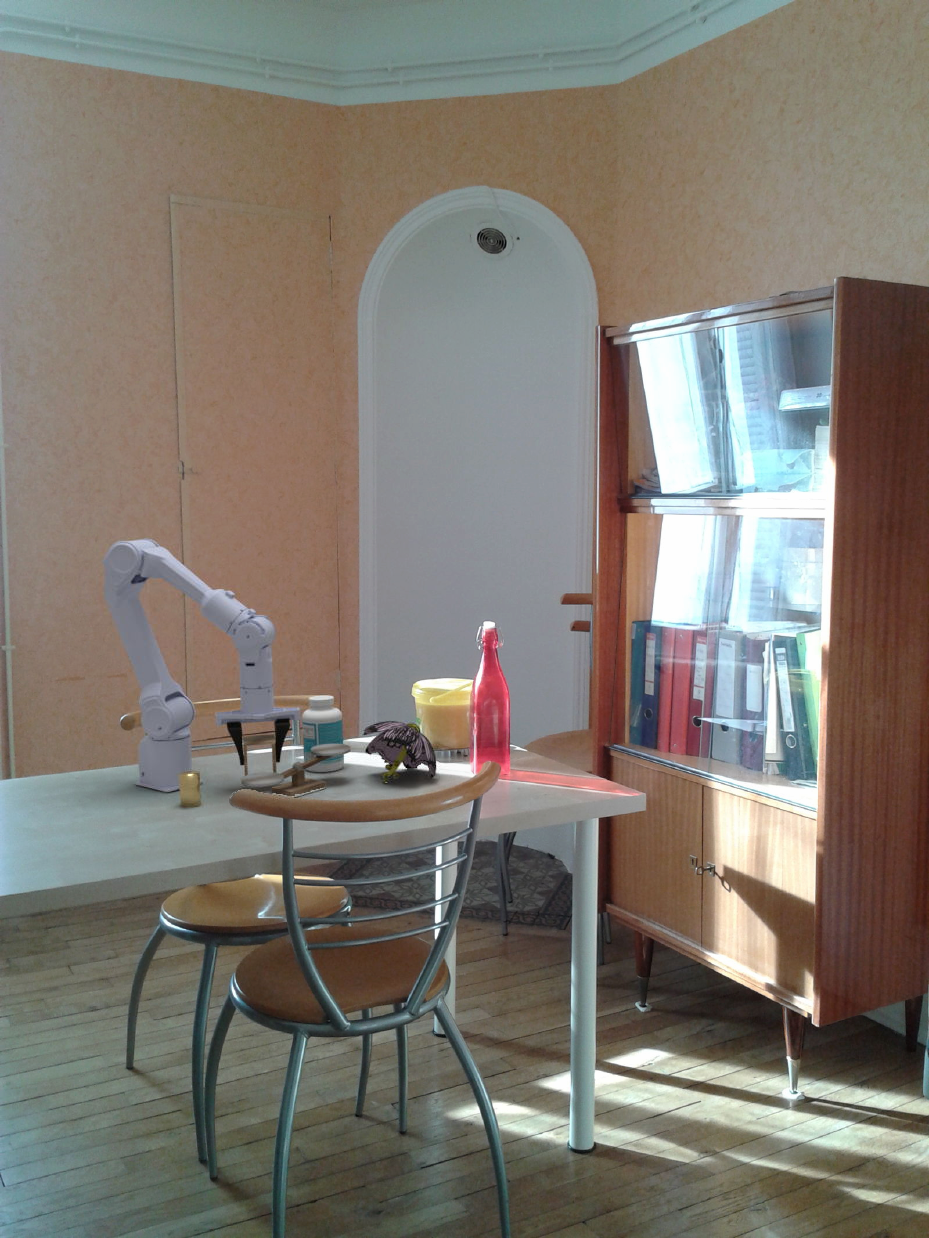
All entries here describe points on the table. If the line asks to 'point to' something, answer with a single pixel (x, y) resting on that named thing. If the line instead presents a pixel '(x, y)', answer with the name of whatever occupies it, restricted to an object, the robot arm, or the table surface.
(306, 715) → the pill bottle
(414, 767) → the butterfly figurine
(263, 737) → the small wooden stool
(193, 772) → the cylinder
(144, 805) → the table surface
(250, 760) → the table surface
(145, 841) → the table surface
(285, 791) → the balance
